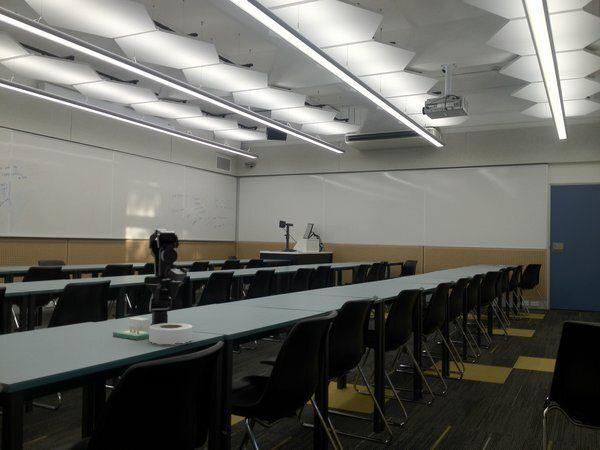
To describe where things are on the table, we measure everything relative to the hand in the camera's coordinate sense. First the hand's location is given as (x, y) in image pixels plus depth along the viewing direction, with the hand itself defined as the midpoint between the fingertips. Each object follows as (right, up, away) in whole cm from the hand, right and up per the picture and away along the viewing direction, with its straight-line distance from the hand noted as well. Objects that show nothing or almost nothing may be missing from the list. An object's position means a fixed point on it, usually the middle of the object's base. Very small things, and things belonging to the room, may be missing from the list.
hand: (165, 300), depth 216 cm
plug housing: (-11, -13, 0) cm, 16 cm away
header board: (-9, -12, -12) cm, 19 cm away
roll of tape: (+7, -13, -19) cm, 24 cm away
